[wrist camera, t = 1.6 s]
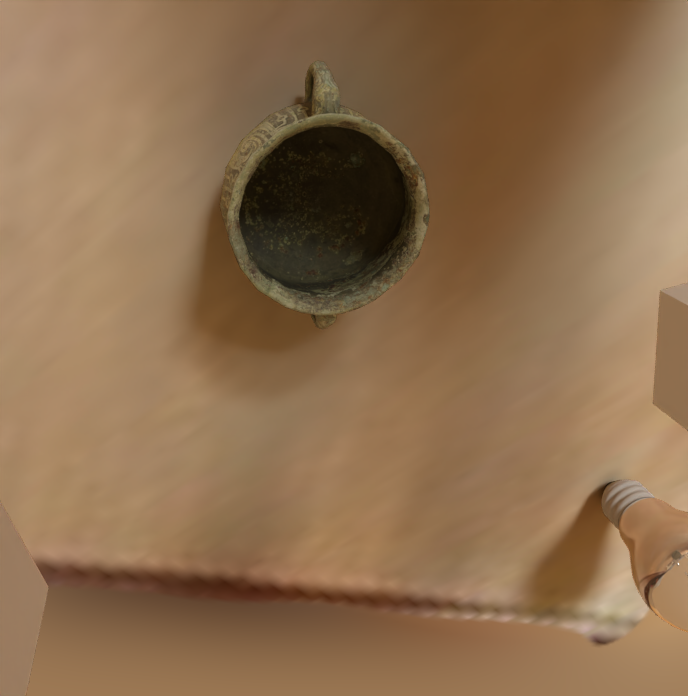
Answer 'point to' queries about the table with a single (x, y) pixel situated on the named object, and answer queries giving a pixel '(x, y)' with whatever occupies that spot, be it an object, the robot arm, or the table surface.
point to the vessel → (323, 205)
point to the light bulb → (653, 547)
